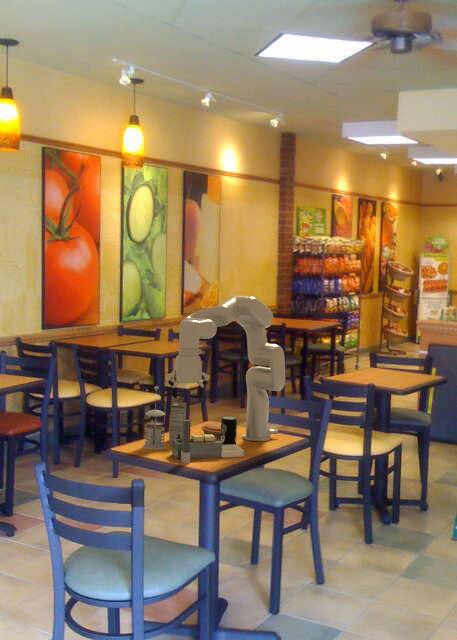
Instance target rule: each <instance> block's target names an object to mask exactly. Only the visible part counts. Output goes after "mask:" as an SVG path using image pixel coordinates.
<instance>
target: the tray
mask: <svg viewBox="0 0 457 640" xmlns="http://www.w3.org/2000/svg"><path fill="white" fill-rule="evenodd" d="M221 458H222V459H231V458H245V450H244V449H242V448H241V447H240V446H238V445H237V444H236V445H235V444H232V445H222V457H221Z"/></svg>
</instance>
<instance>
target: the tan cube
mask: <svg viewBox="0 0 457 640" xmlns="http://www.w3.org/2000/svg"><path fill="white" fill-rule="evenodd" d="M202 435H203V434H190V439H191V443H204V437H203V436H202Z"/></svg>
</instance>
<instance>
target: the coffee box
mask: <svg viewBox="0 0 457 640" xmlns="http://www.w3.org/2000/svg"><path fill="white" fill-rule="evenodd" d="M187 405H188V403H187V402H176V401H175V402H171V404H170V406H169V430H168V431H169V434H168V437H169V438H168V443H169V444H170V445H171V444H172V439H182V431H183V420H187Z"/></svg>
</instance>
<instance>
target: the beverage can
mask: <svg viewBox="0 0 457 640" xmlns="http://www.w3.org/2000/svg"><path fill="white" fill-rule="evenodd" d="M220 423H221V439H220V442H222V445H232V444H235V445H237V437H238V436H237V433H238V432H237V429H238V420H237V417H236V416H229V415H228V416H227V415H225V416H222V419H221V421H220Z"/></svg>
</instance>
